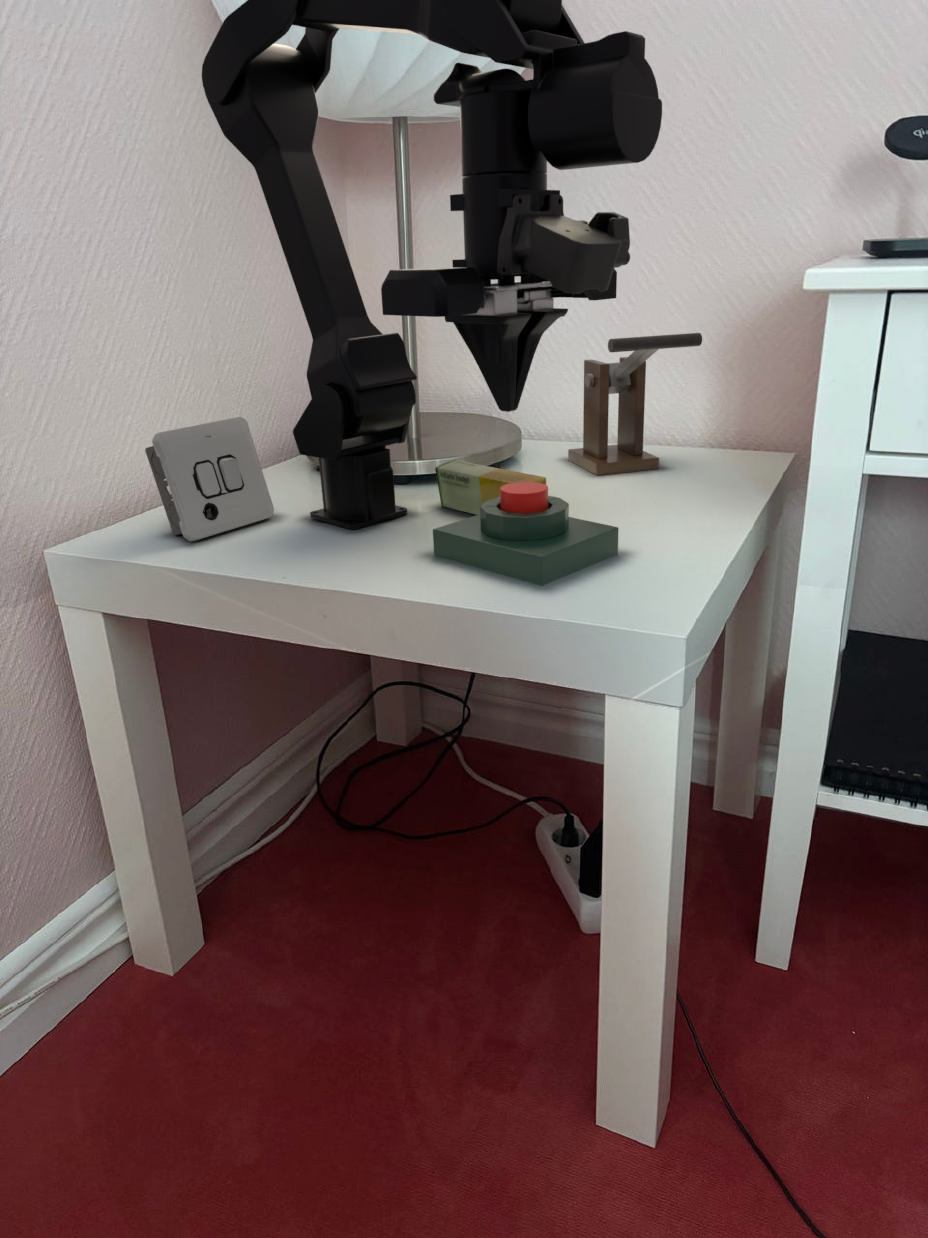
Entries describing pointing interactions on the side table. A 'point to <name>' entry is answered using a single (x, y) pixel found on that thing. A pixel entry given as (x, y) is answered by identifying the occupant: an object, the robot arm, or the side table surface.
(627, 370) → the lever
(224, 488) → the electrical switch
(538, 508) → the button
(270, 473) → the side table surface
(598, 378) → the bracket
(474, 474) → the medication box
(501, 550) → the button box
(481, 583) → the side table surface
